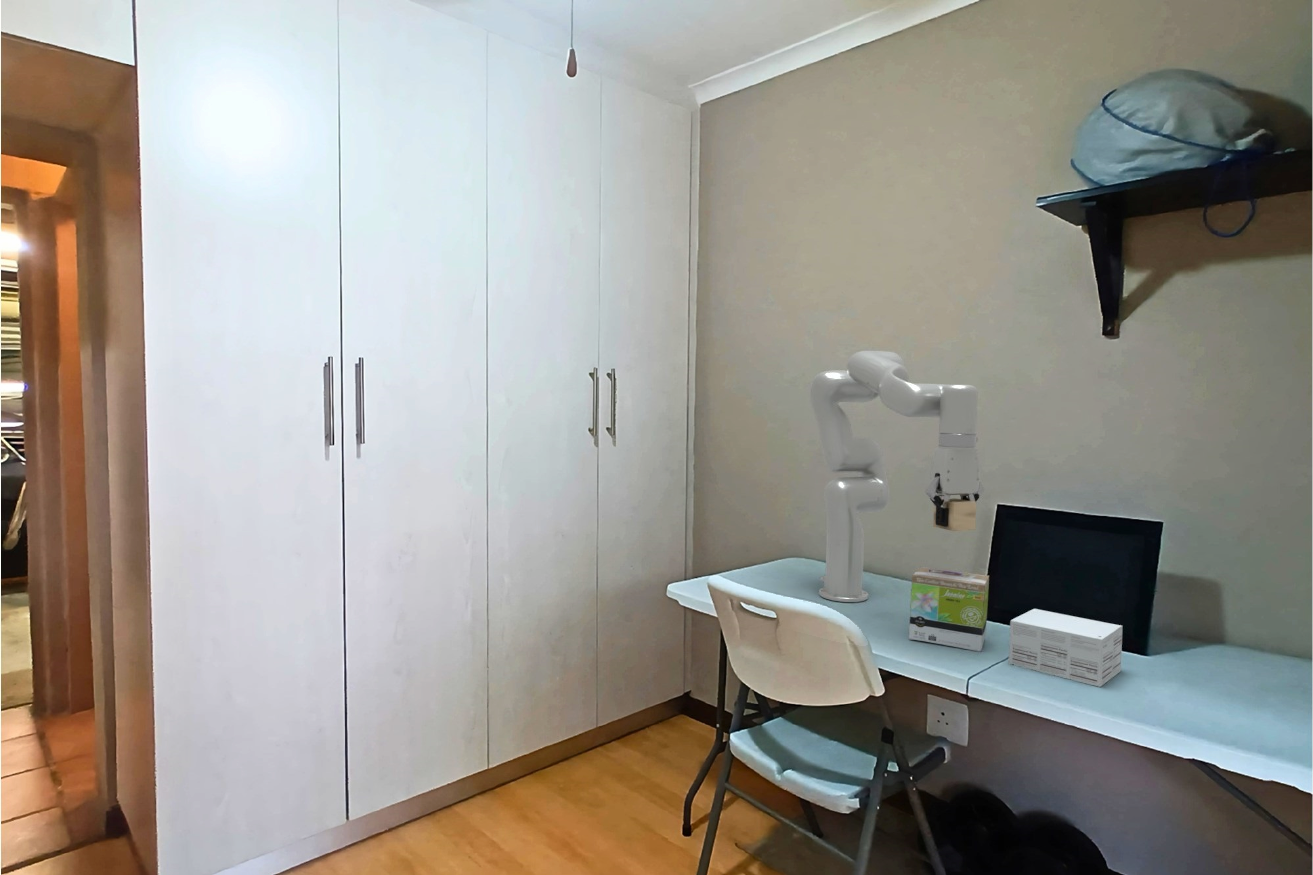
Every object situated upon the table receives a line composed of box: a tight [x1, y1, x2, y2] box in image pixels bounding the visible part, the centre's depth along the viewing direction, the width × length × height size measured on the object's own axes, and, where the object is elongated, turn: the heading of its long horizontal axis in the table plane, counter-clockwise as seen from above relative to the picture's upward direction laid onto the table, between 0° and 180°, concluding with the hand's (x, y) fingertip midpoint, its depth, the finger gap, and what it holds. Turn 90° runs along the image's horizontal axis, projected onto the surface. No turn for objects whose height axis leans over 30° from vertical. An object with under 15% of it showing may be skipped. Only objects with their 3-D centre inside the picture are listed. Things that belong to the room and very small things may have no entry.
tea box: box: [908, 566, 990, 653], centre depth 168 cm, size 15×10×15 cm, turn 62°
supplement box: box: [1007, 608, 1123, 688], centre depth 153 cm, size 17×13×9 cm
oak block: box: [932, 497, 977, 532], centre depth 166 cm, size 6×6×6 cm
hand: (953, 524), depth 167 cm, fingers closed on oak block, 6 cm apart
